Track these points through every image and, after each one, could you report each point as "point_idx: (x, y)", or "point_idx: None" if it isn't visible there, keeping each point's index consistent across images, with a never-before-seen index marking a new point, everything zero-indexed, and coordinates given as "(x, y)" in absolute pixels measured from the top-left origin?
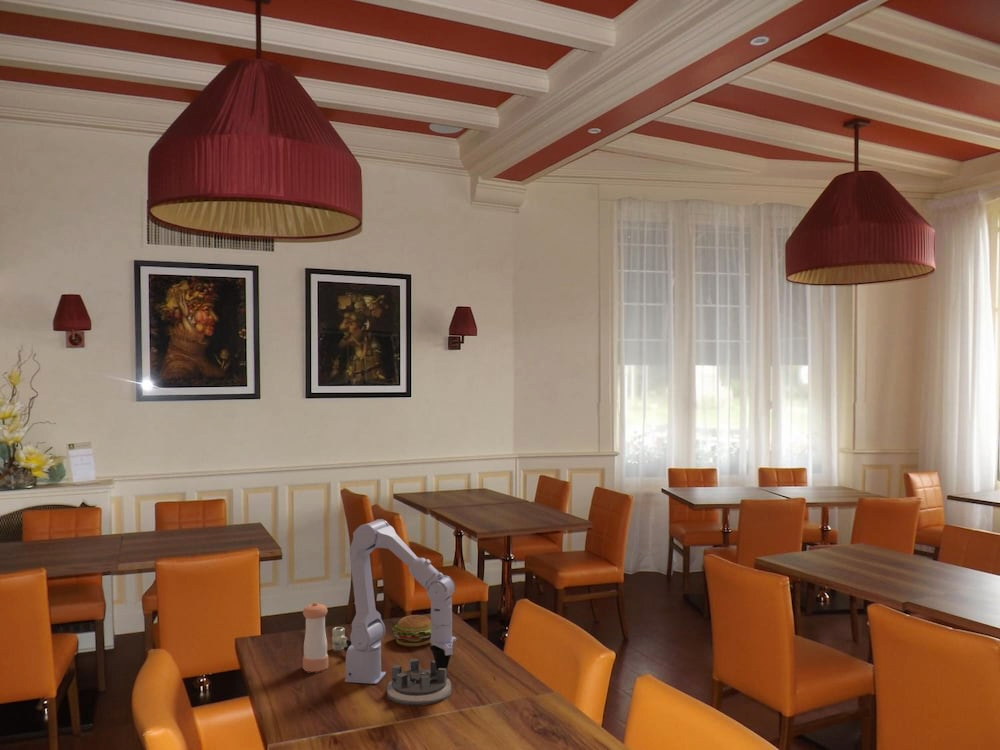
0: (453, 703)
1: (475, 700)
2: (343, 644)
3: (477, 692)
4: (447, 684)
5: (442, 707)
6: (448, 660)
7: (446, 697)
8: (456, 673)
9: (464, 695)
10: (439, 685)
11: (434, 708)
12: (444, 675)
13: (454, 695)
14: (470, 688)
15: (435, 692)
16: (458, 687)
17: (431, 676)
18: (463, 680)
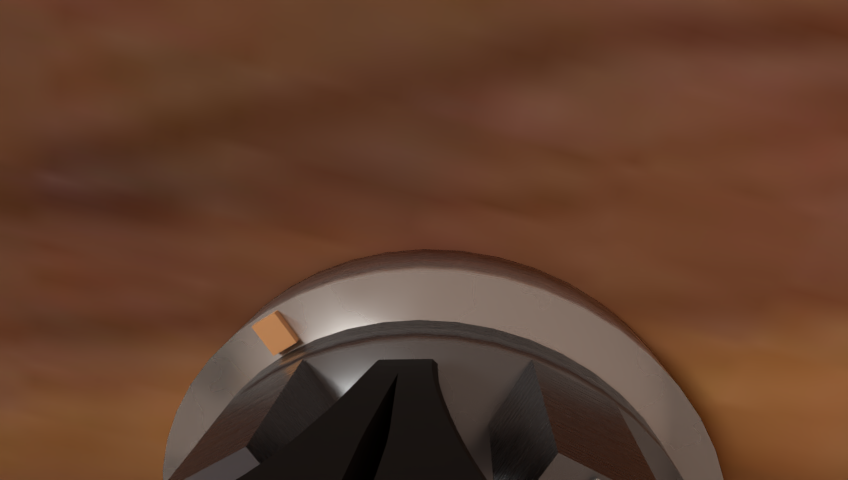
0: (771, 303)
1: (815, 89)
2: None
3: (628, 12)
4: (515, 320)
5: (802, 403)
6: (475, 470)
7: (632, 331)
8: (93, 103)
9: (644, 164)
10: (673, 467)
11: (786, 459)
12: (644, 460)
13: (603, 252)
14: (499, 60)
15: None
16: (436, 171)
17: None
18: (279, 79)
